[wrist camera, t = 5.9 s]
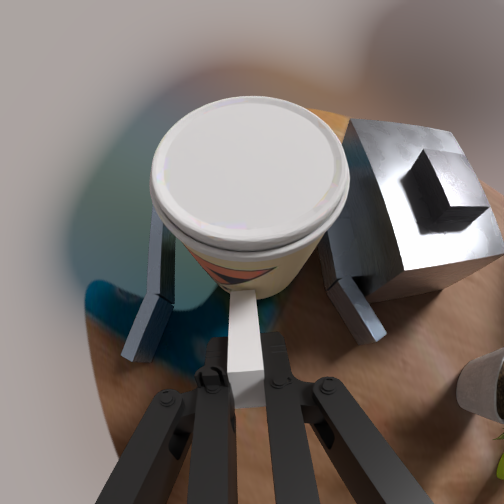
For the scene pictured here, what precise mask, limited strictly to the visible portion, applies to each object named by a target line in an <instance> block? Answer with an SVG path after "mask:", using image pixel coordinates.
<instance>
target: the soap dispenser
mask: <svg viewBox="0 0 504 504" xmlns="http://www.w3.org/2000/svg"><path fill="white" fill-rule="evenodd" d="M497 477H498V478H499V479H502V480H504V453H503V455H502V457H501V459H500V462H499V464H498V467H497Z"/></svg>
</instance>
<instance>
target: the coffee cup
mask: <svg viewBox="0 0 504 504" xmlns="http://www.w3.org/2000/svg"><path fill="white" fill-rule="evenodd" d="M349 183H350V175H349V168H348V163H347V160H346V156H345V153H344V150H343V147H342V145H341V143H340V141H339V139H338V137H337V136H336V135H335V133H334V132H333V131H332V129H331V128H330V127H329V126H328V125H327V124H326V123H325V122H324V121H323V120H321V119H320V118H319V117H318V116H316V115H315V114H313V113H312V112H310V111H308V110H307V109H305V108H303V107H301V106H298V105H296V104H293V103H291V102H288V101H284V100H281V99H276V98H271V97H262V96H241V97H233V98H227V99H223V100H219V101H215V102H212V103H209V104H207V105H204V106H202V107H200V108H198V109H196V110H194V111H192V112H191V113H189V114H187V115H186V116H185V117H183V118H182V119H180V120H179V121H178V122H177V123H176V124H175V125H173V127H172V128H171V129H170V130H169V131H168V132H167V133H166V135H165V136H164V137H163V139H162V140H161V142H160V144H159V145H158V147H157V149H156V152H155V155H154V158H153V162H152V168H151V174H150V193H151V198H152V202H153V205H154V207H155V210H156V212H157V214H158V216H159V217H160V219H161V221H162V222H163V223H164V224H165V226H166V227H167V228H168V229H169V230H170V231H171V232H172V233H173V234H174V235H175V236H176V237H177V238H178V239H179V240H180V241H181V242H182V243H183V244H184V246H185V247H186V248H187V249H188V250H189V252H190V253H191V254H192V256H193V257H194V258H195V259H196V260H197V261H198V263H199V264H200V265H201V266H202V267H203V269H204V270H205V271H206V272H207V273H208V274H209V275H210V277H211V278H212V279H213V280H214V281H215V282H216V283H217V284H218V285H219V286H220V287H221V288H222V289H224V290H225V291H226V292H228V293H230V292H231V291H243V290H254V289H255V294H256V299H263V298H267V297H270V296H273V295H275V294H277V293H279V292H280V291H282V290H283V289H285V288H286V287H287V286H288V285H289V284H290V283H291V281H292V280H293V279H294V278H295V277H296V275H297V274H298V272H299V271H300V270H301V268H302V267H303V265H304V264H305V262H306V261H307V259H308V258H309V256H310V255H311V254H312V252H313V251H314V249H315V247H316V246H317V244H318V243H319V241H320V240H321V238H322V236H323V235H324V233H325V232H326V231H327V230H328V229H329V228H330V227H331V226H332V224H333V223H334V222H335V220H336V219H337V218H338V216H339V215H340V213H341V211H342V209H343V207H344V205H345V202H346V199H347V195H348V191H349Z"/></svg>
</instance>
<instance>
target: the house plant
mask: <svg viewBox="0 0 504 504" xmlns="http://www.w3.org/2000/svg"><path fill="white" fill-rule="evenodd" d="M456 398H457V401H458V404H459V405H460V407H461V408H463V409H465V410H467V411H470V412H472V413H475V414H477V415H480V416H482V417H485V418H488V419H490V420H493V421H496V422H499V423H501V424H504V347H503V348H501V349H498V350H496V351H494V352H491V353H489V354H486V355H484V356H482V357H479V358H476V359H474V360H472V361H470V362H469V363H468V364H467V365H466V366H465V367H464V368H463V370H462V372H461V374H460V376H459V379H458V382H457V388H456ZM503 429H504V428H503ZM497 439H504V433H503V434H502V435H500V436H499V437H498V438H496V439H493V440H497Z"/></svg>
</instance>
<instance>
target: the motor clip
mask: <svg viewBox="0 0 504 504" xmlns="http://www.w3.org/2000/svg"><path fill="white" fill-rule="evenodd" d="M342 147H343V150H344V153H345V156H346V160H347V163H348V168H349V175H350V183H349V191H348V195H347V199H346V202H345V205H344V207H343V209H342V211H341V213H340V215H339V216H338V218H337V219H336V220H335V222H334V223H333V224H332V226H331V227H330V228H329V229H328V230H327V231H326V232H325V233H324V235H323V236H322V238H321V240H320V241H319V243H318V244H317V246H318V252H319V257H320V263H321V269H322V275H323V281H324V287H325V291H328V292H327V293H326V294H327V296H328V297H329V299H330V300H331V302H332V304H333V305H334V307H335V308H336V310H337V311H338V313H339V315H340V316H341V318H342V319H343V321H344V322H345V324H346V326H347V327H348V329H349V330H350V332H351V334H352V335H353V337H354V338H355V340H356V342H357V343H358V345H363V344H369V343H374V342H377V341H378V340H380V339H381V338H382V337H383V336H384V335H386V334H387V332H386V331H385V329H384V328H383V326H382V324H381V323H380V321H379V319H378V318H377V316H376V315H375V313H374V311H373V310H372V308H371V307H370V305H369V303H375V302H381V301H386V300H392V299H397V298H403V297H408V296H413V295H418V294H423V293H428V292H432V291H437V290H441V289H445V288H446V287H448V286H450V285H452V284H454V283H456V282H458V281H460V280H462V279H464V278H465V277H467V276H469V275H471V274H473V273H474V272H476V271H478V270H480V269H481V268H483V267H485V266H487V265H488V264H490V263H492V262H493V261H495V260H497V259H498V258H500V257H501V256H503V255H504V241H503V238H502V235H501V233H500V230H499V227H498V224H497V222H496V219H495V217H494V214H493V212H492V209H491V207H490V204H489V202H488V200H487V197H486V195H485V193H484V191H483V189H482V186H481V184H480V182H479V180H478V178H477V176H476V174H475V173H474V171H473V169H472V167H471V165H470V163H469V161H468V159H467V158H466V156H465V154H464V153H463V151H462V149H461V148H460V146H459V144H458V142H457V141H456V139H455V138H454V136H453V134H452V133H451V132H448V131H443V130H438V129H433V128H428V127H421V126H415V125H409V124H402V123H394V122H385V121H376V120H364V119H350V120H349V124H348V127H347V130H346V133H345V136H344V140H343V143H342ZM175 238H176V236H175V235H174V234H173V233H172V232H171V231H170V230H169V229H168V228H167V227H166V226H165V224H164V223H163V222H162V221H161V219H160V217H159V216H158V214H157V212H156V210H155V207H154V205H153V208H152V217H151V228H150V240H149V254H148V271H147V293H146V295H145V297H144V300H143V302H142V304H141V307H140V309H139V311H138V314H137V316H136V318H135V321H134V323H133V326H132V328H131V330H130V333H129V335H128V338H127V340H126V343H125V345H124V348H123V351H122V353H121V356H123V357H124V358H126V359H128V360H130V361H131V362H152V359H153V357H154V354H155V352H156V349H157V347H158V344H159V342H160V339H161V337H162V334H163V332H164V329H165V327H166V324H167V322H168V320H169V317H170V315H171V313H172V310H173V308H174V306H173V305H171V304H174V303H175V302H174V301H175V298H174V296H175V294H174V290H175V288H174V287H175V286H174V284H175V282H174V281H175V278H174V277H175V276H174V275H175Z"/></svg>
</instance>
